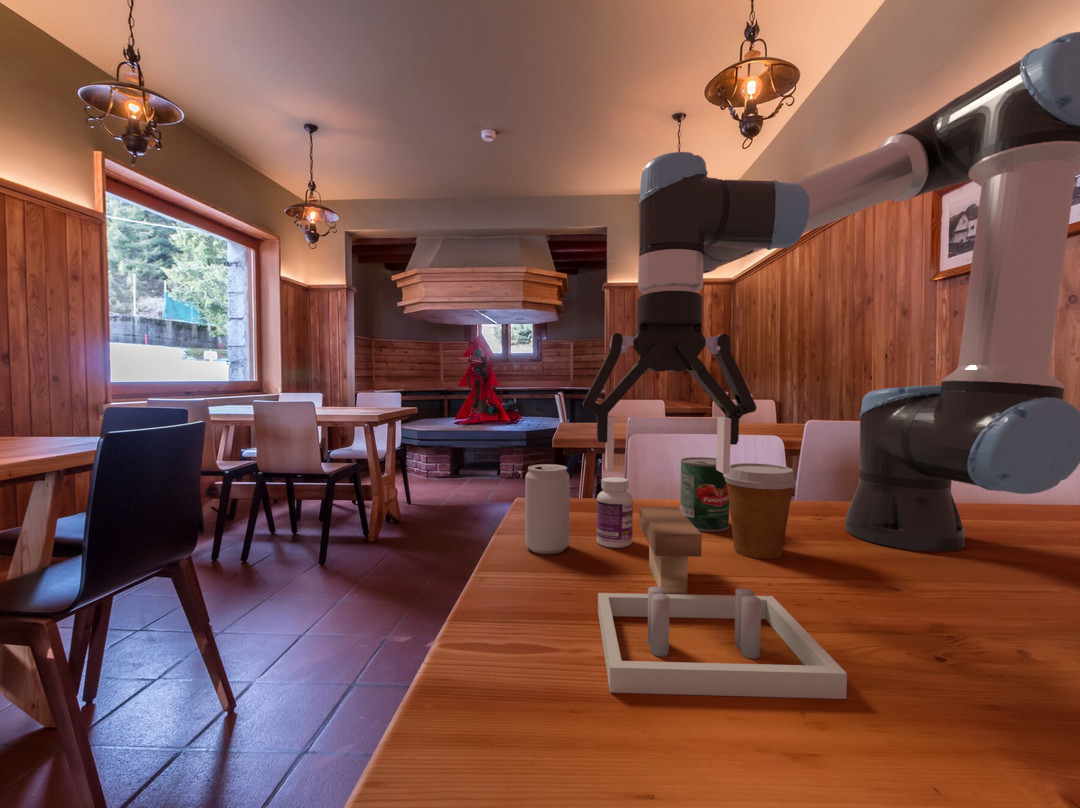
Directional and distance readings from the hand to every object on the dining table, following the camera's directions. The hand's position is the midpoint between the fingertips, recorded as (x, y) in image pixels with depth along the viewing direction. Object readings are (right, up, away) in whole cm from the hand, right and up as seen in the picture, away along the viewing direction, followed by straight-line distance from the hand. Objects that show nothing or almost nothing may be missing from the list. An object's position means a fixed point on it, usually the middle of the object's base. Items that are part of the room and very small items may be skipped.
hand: (665, 470), depth 62 cm
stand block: (0, -13, +1) cm, 13 cm away
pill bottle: (-4, -13, +15) cm, 20 cm away
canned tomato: (+12, -13, +24) cm, 30 cm away
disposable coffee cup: (+16, -13, +11) cm, 23 cm away
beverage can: (-14, -13, +12) cm, 23 cm away
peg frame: (0, -14, -15) cm, 21 cm away
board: (0, -8, 0) cm, 8 cm away
